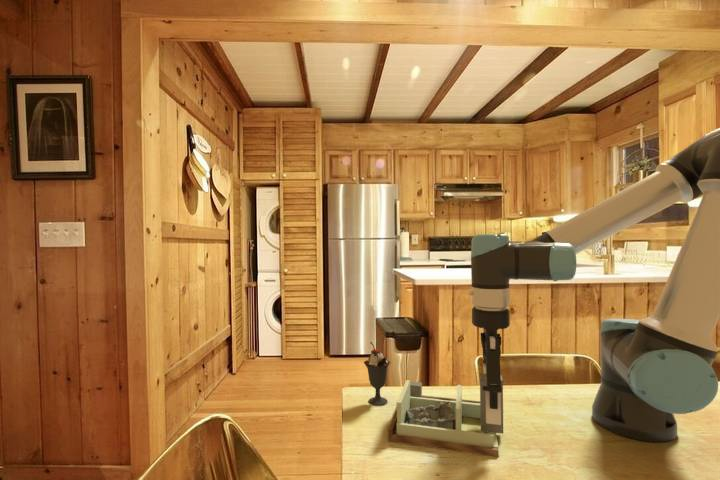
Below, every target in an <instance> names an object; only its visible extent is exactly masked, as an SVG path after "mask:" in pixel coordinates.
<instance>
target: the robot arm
mask: <svg viewBox="0 0 720 480" xmlns="http://www.w3.org/2000/svg"><path fill="white" fill-rule="evenodd" d="M701 196H702V198H701V201H700V202H699V204H698V207H697V209H696V211H695V214H694V217H693V219H692V222H691V224H690V225H689V228H688V231H687V232H686V235H685V238H684V241H683V243H682V245H681V247H680V249H679V252H678V255H677V257H676V259H675V261H674V264H673V266H672V269H671V271H670V273H669V275H668V278H667V280H666V282H665V285H664V287H663V290H662V292H661V294H660V297H659V299H658V301H657V303H656V305H655V309H654V310H653V314H652V315H651V316H647V317H644V318H642V319H634V318H633V319H632V318H605V319H603V320H602V321H601V323H600V331H599V335H600V339H599V340H600V384H599V388H598V390H597V393H596V395H595V398H594V400H593V403H592V406H591V409H592V410H591V412H592V413H591V415H592V419H593V421H595V423H597V424H598V425H599V426H600V427H602V428H604V429H606V430H608V431H610V432H613V433H614V434H617V435H619V436H623V437H626V438H629V439H633V440H637V441H642V442H643V441H644V442H650V443H651V442H652V443H667V442H671V441H674V440H675V439H676V438H677V437H678V423H677V420H676V417H675V415H686V414H689V413H694V412H695V413H696V412H699V411H701V410H703V409H705V408H706V407H708V406H709V405H710V404H712V402H713V401H714V400H715V398H716V396H717V394H718V390H719V380H718V377H717V375H716V371H715V370H714V368H713V367H712V365H713V363H714V361H715V359H716V357H717V355H718V352H719V348H718V346H717V345H716V343H715V341H714V340H713V337H712V336H713V333H714V330H715V329H716V326H717V324H718V322H719V320H720V127H719V128H716V129H714V130H712V131H710V132H708V133H706V134H704V135H703V136H701V137H699V138H698V139H697V140H695V141H694V142H693V143H691V144H690V145H688V146H687V147H685V148H683V149H682V150H681V151H680V152H678V153H676V154H675V155H673V156H672V157H669V158H668V159H667V160H665V161H662V162H661V163H660V164H658V165H657V166H656V167H655V172H653V173H651V174H650V175H648V176H646V177H644V178H642V179H640V180H638V181H636V182H634V183H633V184H631V185H630V186H627V187H626V188H624V189H623V190H621V191H619V192H617V193H615V194H612V196H610V197H607V198H606V199H604V200H603V201H601V202H599V203H597V204H595V205H592V207H590V208H587V209H586V210H584V211H582V212H581V213H579V214H577V215H575V216H574V217H571V218H569V219H567V220H565V221H564V222H562V223H560V224H558V225H556V226H555V227H553V228H551V229H549V230H548V231H546V232H544V233H542V234H541V235H539V236H537V237H535V238H533V239H531V240H527V241H526V242H523V243H521V242H520V243H517V242H516V243H515V242H510V241H511V240H510V237H509V235H508V234H506V233H498V234H497V233H494V234H493V233H492V234H491V233H489V234H488V233H486V234H481V233H480V234H475V235H474V236H473V237H472V238H471V246H470V247H471V252H470V268H471V274H470V276H471V277H470V278H471V290H469V291H468V295H469V296H471V304H472V305H473V307H472V309H471V323H472V325H473V326H474V327H476V328H479V329H481V328H482V330H483V332H480V344H481V348H482V358H483V359H482V363H483V365H482V369H483V372H482V374H486V384H487V386H483V391H486V423H488V424H496V425H501V392H502V388H501V357H502V351H501V346H502V336H501V334H500V333H498V330H505V329H508V328H509V327H510V325H511V324H510V322H511V321H510V320H511V319H510V317H511V316H510V315H511V313H510V312H511V311H510V309H509V307H510V305H511V302H510V301H511V300H510V299H511V297H510V295H511V293H510V292H511V291H510V290H511V288H510V280H515V281H516V280H527V281H529V280H530V281H553V282H557V281H572V280H573V279H574V277H575V275H576V272H577V255H578V254H579V253H580V254H581V252H584V251H586V250H587V249H589V248H591V247H593V246H595V245H597V244H599V243H601V242H603V241H605V240H606V239H609V238H611V237H613V236H614V235H616V234H619V233H620V232H623V231H625V230H626V229H629V228H630V227H632V226H634V225H636V224H638V223H640V222H641V221H644V220H646V219H648V218H649V217H651V216H654V215H655V214H657V213H660V212H661V211H664V210H665V209H666V208H669V207H671V206H673V205H675V204H676V203H690V202H692V201H693V200H696V199H698V198H700V197H701ZM490 384H497V385H490Z"/></svg>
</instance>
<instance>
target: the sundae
mask: <svg viewBox="0 0 720 480" xmlns="http://www.w3.org/2000/svg"><path fill="white" fill-rule="evenodd" d="M369 344H371V345H372V348H373V349H372V350H370V352H371V353H370V355H369V357H368V358H367V360H365V361H364V362H363V364H364V365H365V367H366V368H367V372H368V380H369V383H370V386H371V387H373V388H374V390H375V395H374V397H371V398H369V399H368V401H367V402H368V403H369V405H372V406H374V407H375V406H376V407H381V406H385V405H386V404H388V399H387V398H385V397H382V396H381V388H383V387H384V386H385V385H386V381H387V374H388V367H389V366H390V364H391V361H390V360H387V357H385V356H384V354H383V353H382V352H380V351H378V350H377V349H376V348H375V345H374V344H373V342H372V341H370V342H369Z"/></svg>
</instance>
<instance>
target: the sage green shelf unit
mask: <svg viewBox="0 0 720 480" xmlns="http://www.w3.org/2000/svg"><path fill="white" fill-rule="evenodd" d="M410 381H411V380H410V379H406V380H405V383H404V384H403V388H402V389H401V392H400V394H399V397H398V399H397V401H396V409H397V430H396V435H401V436H408V437H416V438H423V439H430V440H438V441H445V442H452V443H460V444H467V445H474V446H482V447H489V448H497V449H498V450H499V444H498V436H497V434H502V435H503V434H504V380H503V375H501V388H502V392H501V425H496V424H488V423H486V391H483V386H487V384H486V374H483V372H482V373H479V397H480V398H479V401H480V404H477V403H467V402H462V400H463V399H462V398H463V397H462V396H463V395H462V393H463V392H462V384H457V387H456V397H455V399H456V401H449V400H439V399H430V398H420V397H411V396H410ZM490 385H497V384H490ZM443 401H445V402H447V401H449V403H450V405H451V407H452V410H453V413H454V414H455V415H456V430H454V429H446V428H438V427H430V426H422V425H414V424H408V423H407V412H406V411H407V408H411V409H412V408H413V409H414V408H417V407H426V406H429V405H435V404H436V402H437V403H438V402H443ZM463 417H467V418H477V419H480V422H479V423H480V432H475V431H469V430H462V425H463V424H462V422H463V419H462V418H463ZM485 432H486V433H485Z"/></svg>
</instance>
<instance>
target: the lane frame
mask: <svg viewBox="0 0 720 480" xmlns="http://www.w3.org/2000/svg"><path fill="white" fill-rule="evenodd" d="M422 397H423V398H432V399H439V400H449V401H456V398H451V397H443V396H442V397H441V396H432V395H423V394H422ZM462 402H470V403H480V400H470V399H462ZM387 441H388V442H392V443H398V444H407V445H414V446H420V447H426V448H435V449H440V450H441V449H443V450H448V451H454V452H455V451H456V452H463V453H470V454H478V455H484V456H489V457H497V458H498V457H499V455H500V453H499V448H498V449H497V448H489V447H482V446H474V445H467V444H460V443H452V442H445V441H438V440H430V439H423V438H416V437H408V436H401V435H397V408H396V409H395V411H394V414H393V418H392V419H391V421H390V424H389V426H388V429H387Z"/></svg>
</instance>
